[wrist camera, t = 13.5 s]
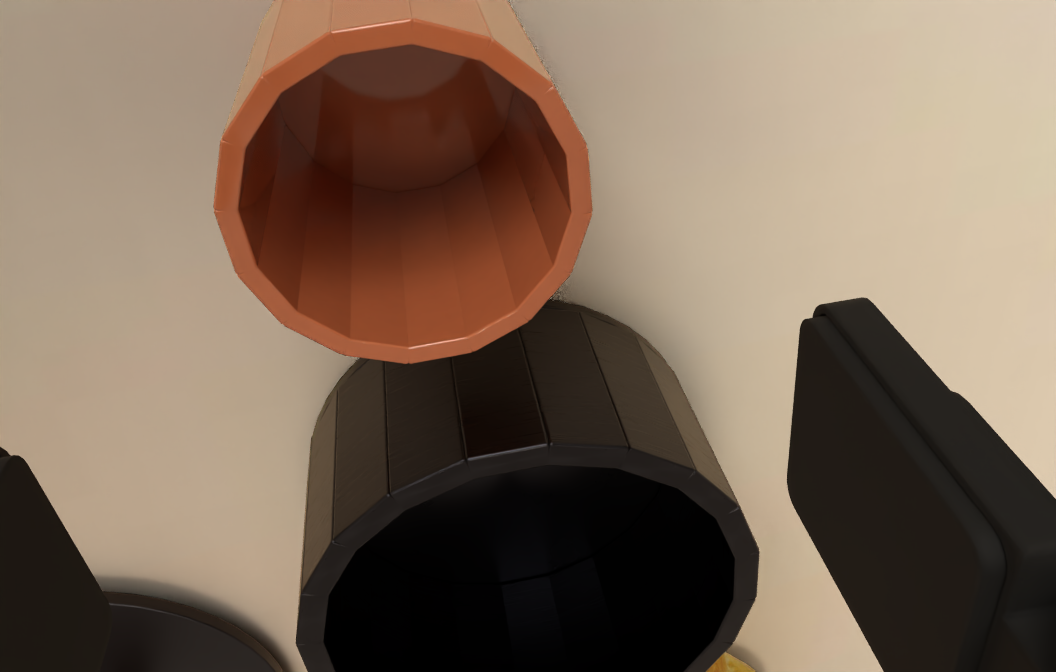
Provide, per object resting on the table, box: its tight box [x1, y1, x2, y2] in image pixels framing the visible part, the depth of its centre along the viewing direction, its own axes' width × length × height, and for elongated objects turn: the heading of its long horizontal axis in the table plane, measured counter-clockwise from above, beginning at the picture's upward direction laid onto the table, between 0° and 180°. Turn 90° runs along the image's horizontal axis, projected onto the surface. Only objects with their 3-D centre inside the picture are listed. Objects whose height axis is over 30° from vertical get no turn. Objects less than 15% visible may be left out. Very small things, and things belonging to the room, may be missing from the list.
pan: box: [296, 300, 759, 672], centre depth 26 cm, size 12×12×6 cm
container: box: [213, 0, 593, 364], centre depth 18 cm, size 6×6×8 cm
